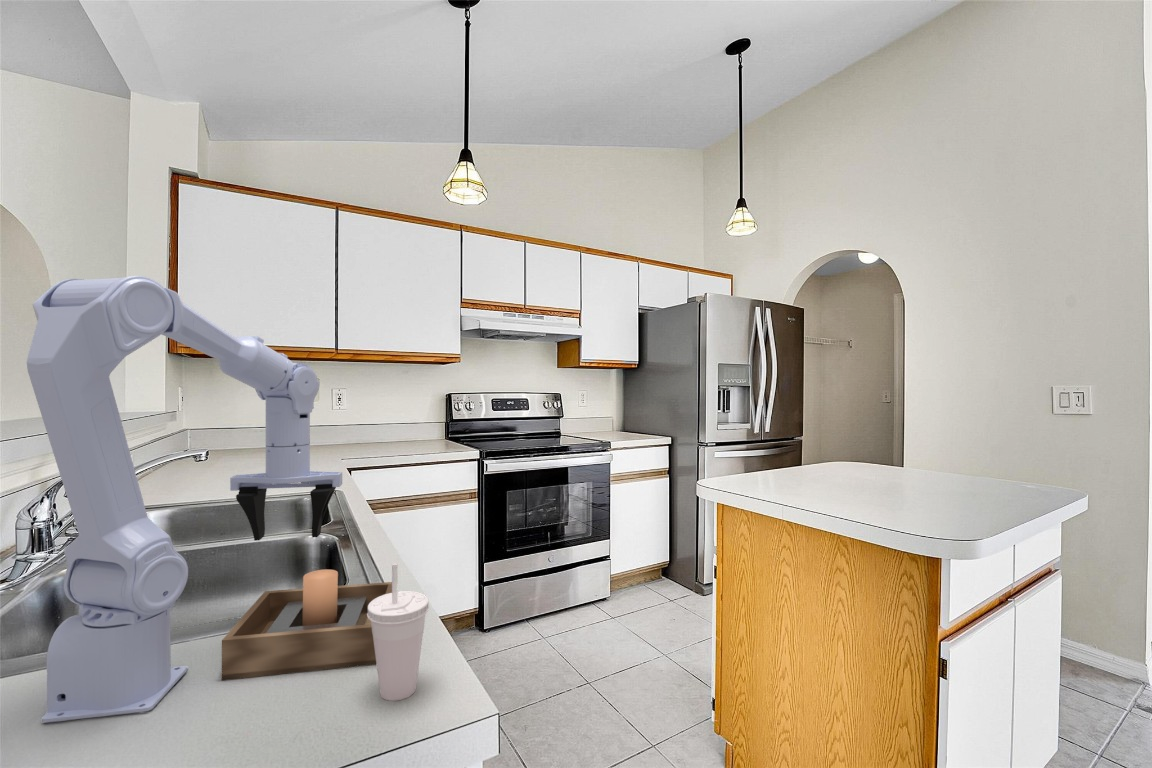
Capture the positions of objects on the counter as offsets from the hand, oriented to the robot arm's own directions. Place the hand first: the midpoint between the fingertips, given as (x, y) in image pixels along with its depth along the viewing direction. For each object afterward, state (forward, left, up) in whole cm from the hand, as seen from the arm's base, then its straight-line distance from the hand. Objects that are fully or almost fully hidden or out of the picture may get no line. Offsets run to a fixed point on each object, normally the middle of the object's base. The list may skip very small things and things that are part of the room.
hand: (288, 536), depth 79 cm
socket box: (+7, -12, -10) cm, 17 cm away
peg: (+7, -12, -10) cm, 17 cm away
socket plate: (+7, -12, -10) cm, 17 cm away
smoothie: (+18, -25, -11) cm, 33 cm away
